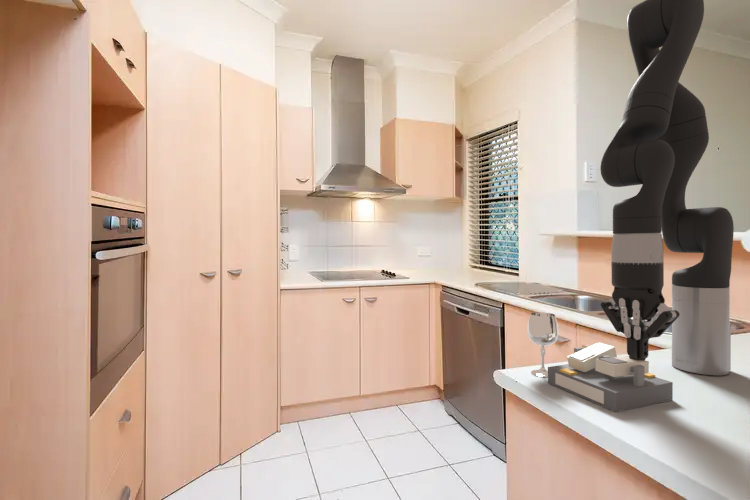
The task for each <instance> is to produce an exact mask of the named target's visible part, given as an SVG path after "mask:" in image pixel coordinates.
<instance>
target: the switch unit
mask: <svg viewBox="0 0 750 500" xmlns="http://www.w3.org/2000/svg"><path fill="white" fill-rule="evenodd" d="M583 349H584V348H583V347H581V346H579V347H578V346H577V347H573V354H574V353H576V352H578V351H581V350H583ZM610 357H611V356H608V355H605V356H601V358H610ZM595 368H596V367H595ZM595 368H593V369H591V370H589V371H587V372H582V371H579V370H577V369H574V368H571V367H569V364H568V363H566V364H558V365H552V366H547V371H548V377H547V383H548V384H549V385H552V386H554V387H557V388H559V389H561V390H564V391H566V392H567V393H568V392H569V393H570V394H573V395H575V396H577V397H580V398H582V399H585V400H586V401H589V402H592V403H593V404H596V405H598V406H601V407H603V408H605V409H607V410H610V411H612V412H613V413H614V412H615V413H618V412H622V411H627V410H633V409H637V408H642V407H647V406H650V405H656V404H661V403H666V402H670V401H673V395H674V394H673V387H674V386H673V385H674V383H673V381H670V380H667V379H663V378H660V377H657V376H656V374H653V373H651V372H649V373H647V374H644V366H642V365H635V366H634V375H628V376H619V377H612V376H610V375H607V374H604V373H601V372H598V371H595Z"/></svg>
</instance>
